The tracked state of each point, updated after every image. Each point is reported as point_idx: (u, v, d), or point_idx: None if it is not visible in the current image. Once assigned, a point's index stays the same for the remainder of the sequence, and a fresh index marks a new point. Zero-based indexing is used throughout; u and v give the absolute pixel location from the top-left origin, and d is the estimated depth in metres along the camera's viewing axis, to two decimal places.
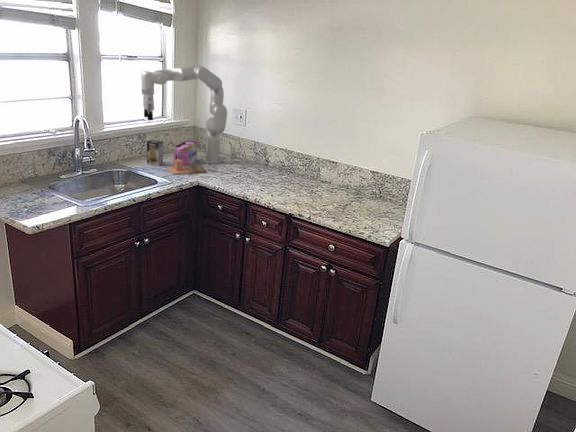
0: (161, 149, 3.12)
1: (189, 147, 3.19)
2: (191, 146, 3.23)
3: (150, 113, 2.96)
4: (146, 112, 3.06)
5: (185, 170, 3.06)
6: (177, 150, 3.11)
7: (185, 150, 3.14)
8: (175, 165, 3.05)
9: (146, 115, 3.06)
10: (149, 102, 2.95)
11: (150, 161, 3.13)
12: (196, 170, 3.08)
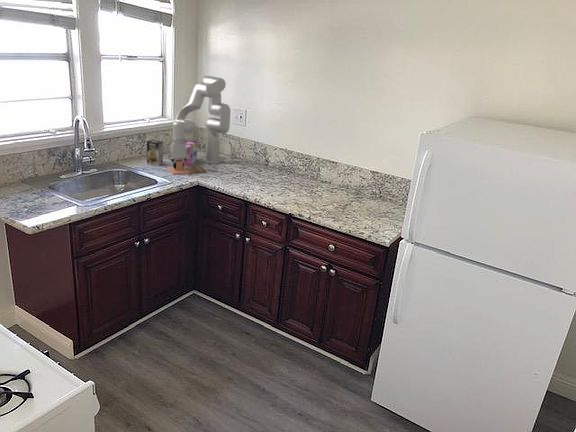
0: (161, 149, 3.12)
1: (191, 147, 3.20)
2: (192, 146, 3.23)
3: None
4: None
5: (185, 170, 3.06)
6: None
7: (188, 150, 3.14)
8: None
9: None
10: None
11: (150, 161, 3.13)
12: (196, 170, 3.08)
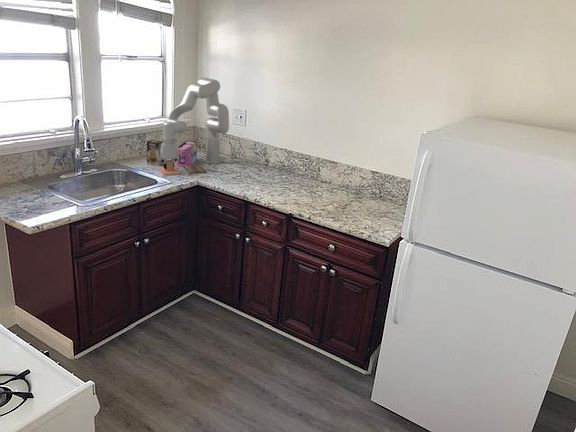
0: None
1: (191, 147, 3.20)
2: (193, 146, 3.23)
3: None
4: None
5: (176, 171, 3.03)
6: (181, 150, 3.11)
7: (188, 150, 3.14)
8: None
9: None
10: None
11: (150, 161, 3.13)
12: (196, 170, 3.08)
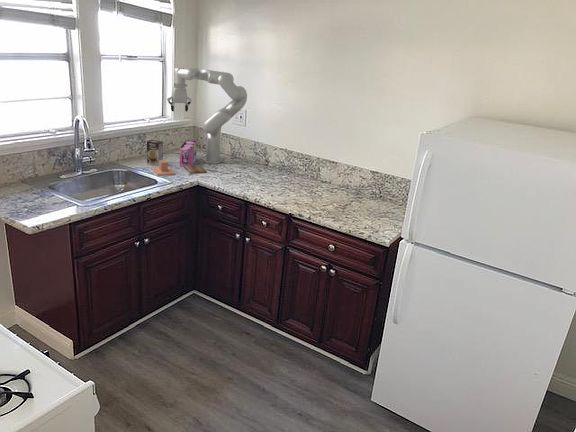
0: (161, 149, 3.12)
1: (193, 147, 3.21)
2: (194, 146, 3.24)
3: None
4: None
5: (170, 171, 3.01)
6: (184, 150, 3.12)
7: (191, 150, 3.15)
8: (159, 165, 3.00)
9: None
10: None
11: (150, 161, 3.13)
12: (196, 170, 3.08)
